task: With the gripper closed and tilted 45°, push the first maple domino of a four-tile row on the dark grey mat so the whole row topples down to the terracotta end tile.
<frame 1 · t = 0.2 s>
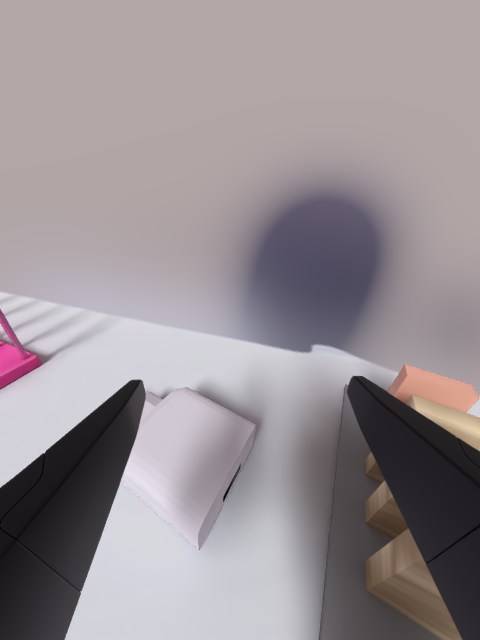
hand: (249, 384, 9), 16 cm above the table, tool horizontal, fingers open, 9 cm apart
domino mat: (393, 506, 20), on the table
domino 3: (393, 480, 21), point 1 cm above the table, touching domino mat
domino 2: (398, 530, 18), point 1 cm above the table, touching domino mat
domino 1: (406, 600, 15), point 1 cm above the table, touching domino mat
domino 4: (389, 444, 24), point 1 cm above the table, touching domino mat
charger: (169, 449, 23), on the table
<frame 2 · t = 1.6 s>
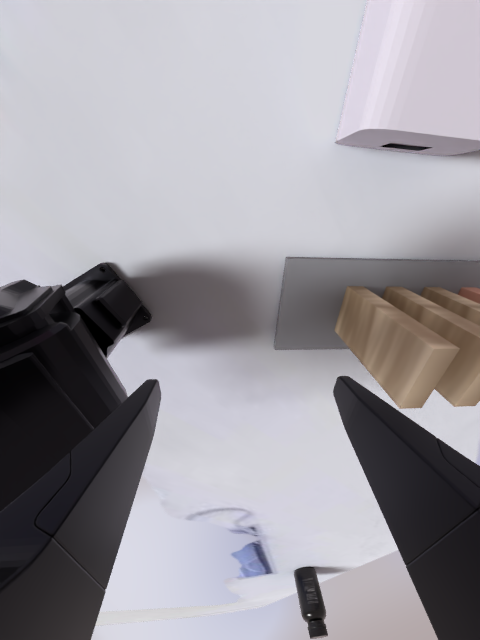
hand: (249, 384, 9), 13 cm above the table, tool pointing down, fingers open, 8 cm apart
domino mat: (399, 306, 23), on the table
domino 3: (421, 309, 23), point 1 cm above the table, touching domino mat
domino 2: (385, 309, 23), point 1 cm above the table, touching domino mat
domino 1: (347, 309, 22), point 1 cm above the table, touching domino mat
supplement bottle: (304, 569, 69), on the table
domino 4: (456, 309, 23), point 1 cm above the table, touching domino mat
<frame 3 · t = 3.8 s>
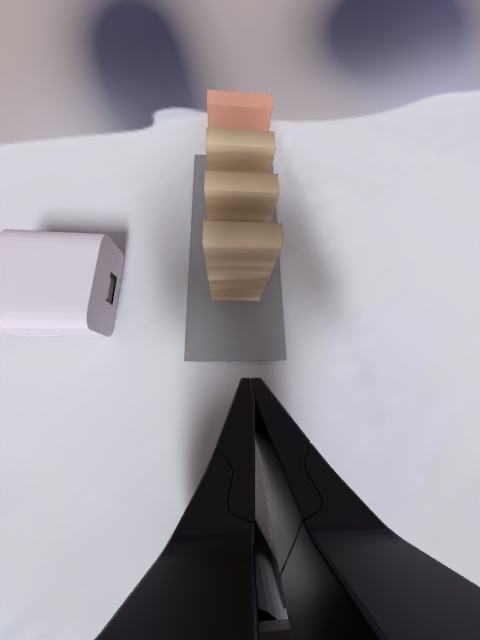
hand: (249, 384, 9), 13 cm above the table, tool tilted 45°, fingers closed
domino mat: (234, 247, 26), on the table
domino 3: (234, 229, 25), point 1 cm above the table, touching domino mat
domino 2: (235, 260, 24), point 1 cm above the table, touching domino mat
domino 1: (235, 293, 23), point 1 cm above the table, touching domino mat
domino 4: (234, 201, 27), point 1 cm above the table, touching domino mat
charger: (47, 294, 23), on the table
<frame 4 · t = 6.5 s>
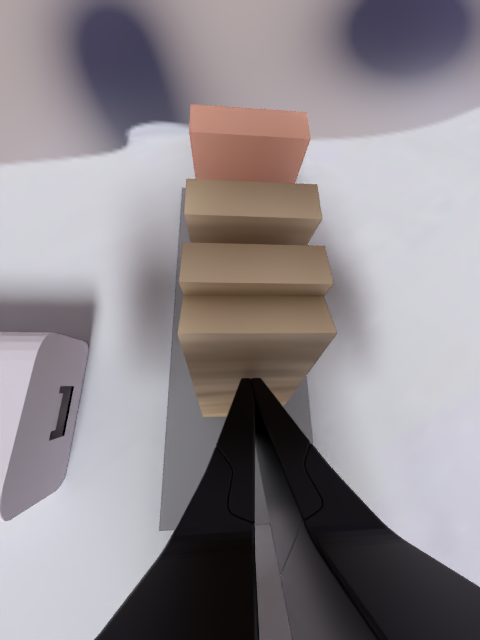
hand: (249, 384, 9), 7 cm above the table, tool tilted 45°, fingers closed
domino mat: (237, 324, 18), on the table
domino 3: (238, 298, 18), point 1 cm above the table, touching domino mat
domino 2: (238, 347, 16), point 1 cm above the table, tilted 8°, touching domino 1, domino mat
domino 1: (240, 404, 15), point 1 cm above the table, tilted 21°, touching domino 2, domino mat
domino 4: (237, 255, 19), point 1 cm above the table, touching domino mat
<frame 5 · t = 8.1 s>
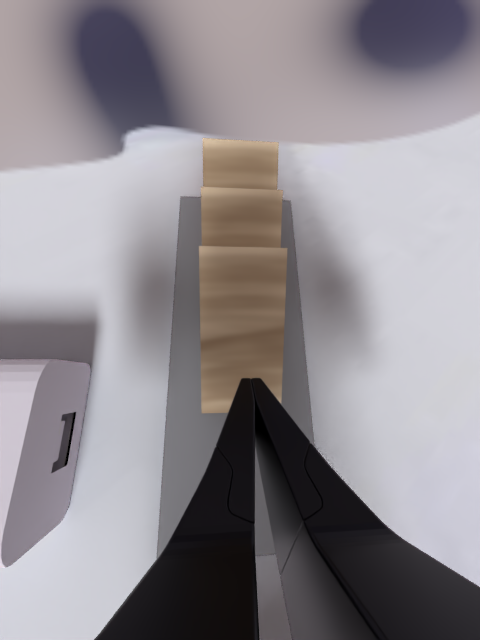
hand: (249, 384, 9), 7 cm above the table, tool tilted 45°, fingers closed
domino mat: (238, 341, 17), on the table
domino 3: (238, 293, 17), point 1 cm above the table, tilted 66°, touching domino 2, domino 4
domino 2: (239, 344, 16), point 1 cm above the table, tilted 66°, touching domino 1, domino 3, domino mat
domino 1: (240, 405, 15), point 1 cm above the table, tilted 66°, touching domino 2, domino mat
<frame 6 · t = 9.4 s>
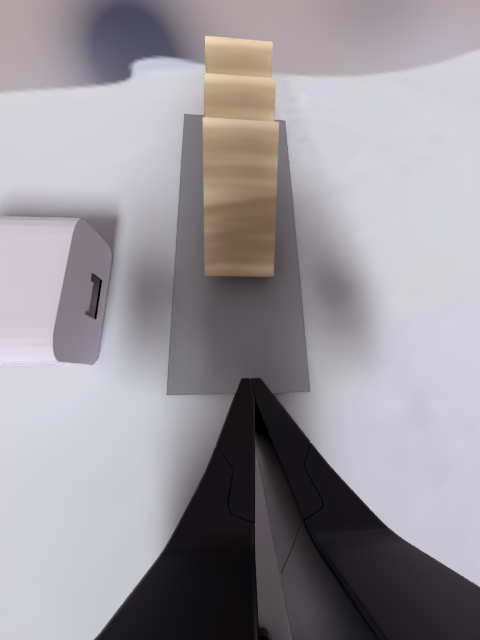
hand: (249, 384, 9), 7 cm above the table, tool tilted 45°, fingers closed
domino mat: (237, 235, 19), on the table
domino 3: (237, 190, 19), point 1 cm above the table, tilted 66°, touching domino 2, domino 4
domino 2: (238, 230, 18), point 1 cm above the table, tilted 66°, touching domino 1, domino 3, domino mat
domino 1: (238, 276, 17), point 1 cm above the table, tilted 66°, touching domino 2, domino mat
charger: (6, 305, 17), on the table
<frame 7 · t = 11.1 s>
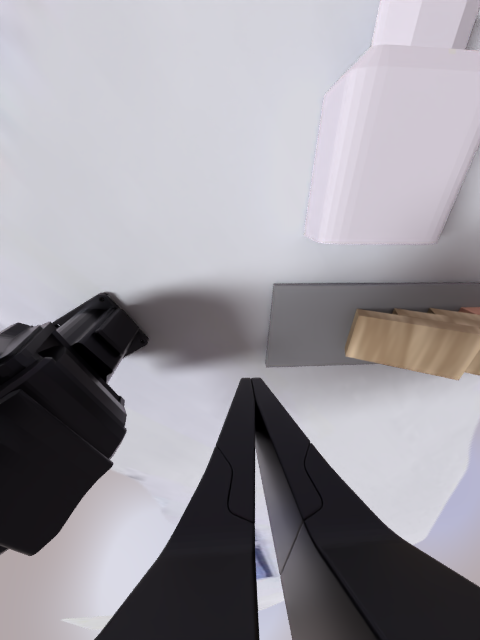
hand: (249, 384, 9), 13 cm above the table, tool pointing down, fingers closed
domino mat: (383, 325, 25), on the table
domino 3: (422, 331, 24), point 1 cm above the table, tilted 66°, touching domino 2, domino 4
domino 2: (387, 332, 23), point 1 cm above the table, tilted 66°, touching domino 1, domino 3, domino mat
domino 1: (351, 333, 23), point 1 cm above the table, tilted 66°, touching domino 2, domino mat
domino 4: (455, 331, 24), point 1 cm above the table, tilted 90°, touching domino 3, domino mat
charger: (375, 127, 16), on the table
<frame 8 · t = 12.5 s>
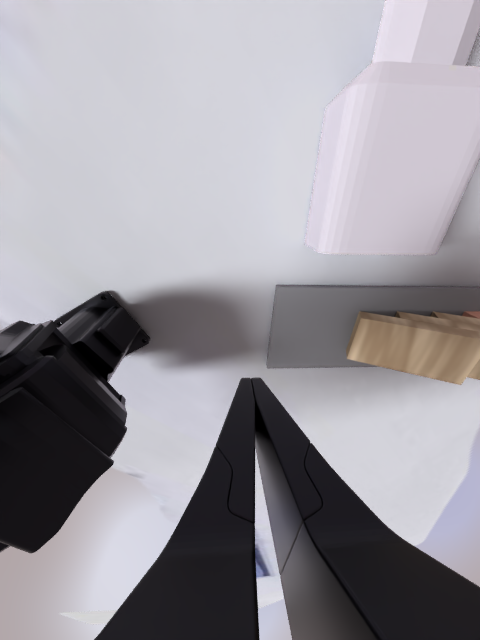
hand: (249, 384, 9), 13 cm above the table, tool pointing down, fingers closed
domino mat: (385, 328, 24), on the table
domino 3: (424, 335, 24), point 1 cm above the table, tilted 66°, touching domino 2, domino 4
domino 2: (389, 335, 23), point 1 cm above the table, tilted 66°, touching domino 1, domino 3, domino mat
domino 1: (352, 335, 23), point 1 cm above the table, tilted 66°, touching domino 2, domino mat
domino 4: (459, 335, 24), point 1 cm above the table, tilted 90°, touching domino 3, domino mat
charger: (376, 138, 16), on the table
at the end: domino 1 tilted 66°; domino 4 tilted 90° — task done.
